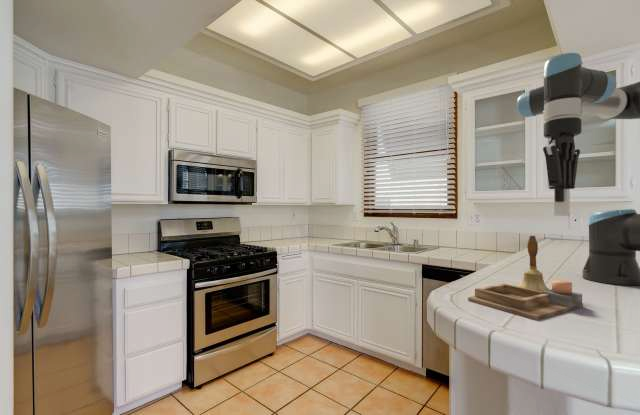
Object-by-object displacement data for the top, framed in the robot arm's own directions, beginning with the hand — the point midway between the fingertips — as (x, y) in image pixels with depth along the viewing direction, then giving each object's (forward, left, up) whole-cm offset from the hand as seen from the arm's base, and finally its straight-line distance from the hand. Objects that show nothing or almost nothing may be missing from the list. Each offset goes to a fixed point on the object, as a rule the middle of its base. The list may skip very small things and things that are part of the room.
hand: (561, 215), depth 82 cm
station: (+7, -5, -22) cm, 24 cm away
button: (0, 0, -19) cm, 19 cm away
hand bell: (-9, -12, -23) cm, 27 cm away
